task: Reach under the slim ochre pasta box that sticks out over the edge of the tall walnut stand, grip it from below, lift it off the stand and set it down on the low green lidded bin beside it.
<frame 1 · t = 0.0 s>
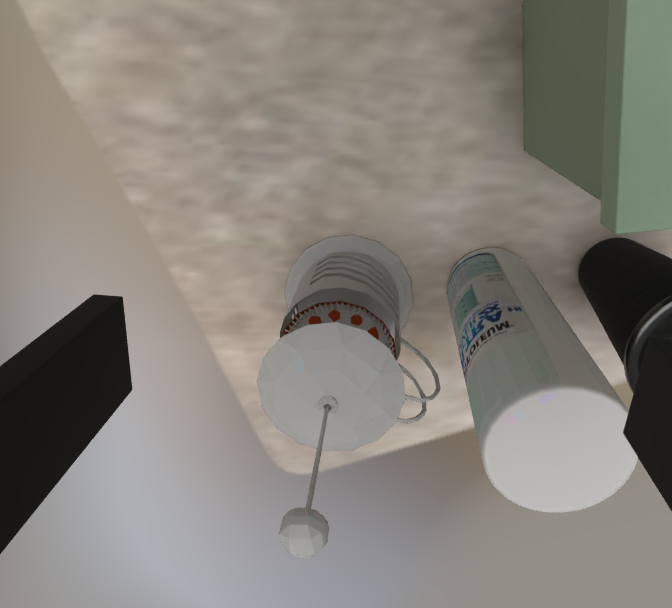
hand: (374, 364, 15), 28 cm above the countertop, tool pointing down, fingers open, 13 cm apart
drinking cup: (611, 268, 42), on the countertop
green lidded bin: (612, 68, 37), on the countertop
spray can: (488, 286, 43), on the countertop
french press: (358, 301, 45), on the countertop
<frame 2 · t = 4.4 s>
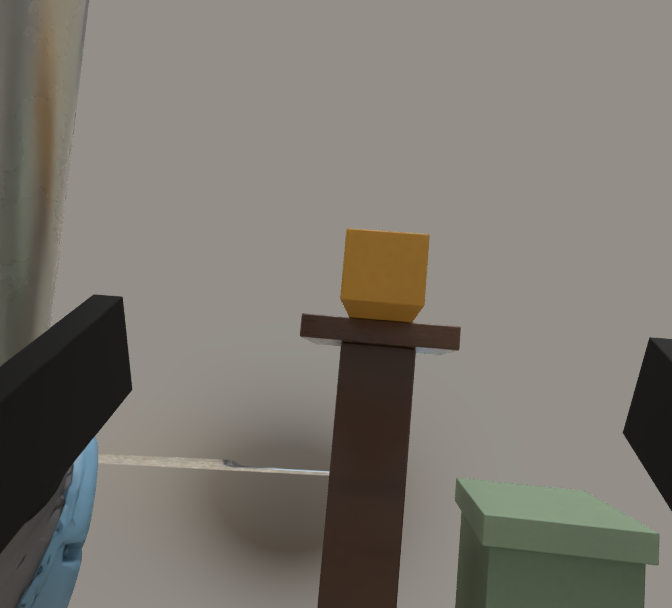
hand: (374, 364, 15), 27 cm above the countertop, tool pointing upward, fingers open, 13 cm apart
pasta box: (380, 322, 38), point 30 cm above the countertop, touching walnut stand
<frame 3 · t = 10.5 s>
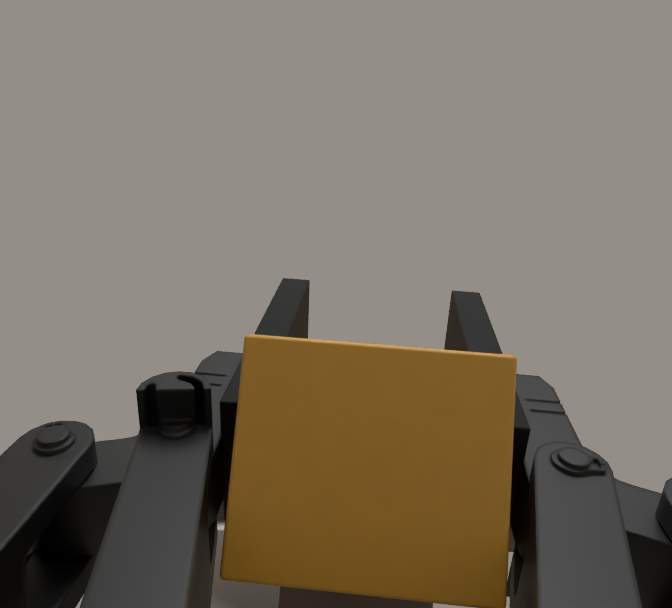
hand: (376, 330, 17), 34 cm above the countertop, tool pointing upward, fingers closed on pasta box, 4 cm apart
pasta box: (365, 473, 19), point 30 cm above the countertop, touching gripper, walnut stand
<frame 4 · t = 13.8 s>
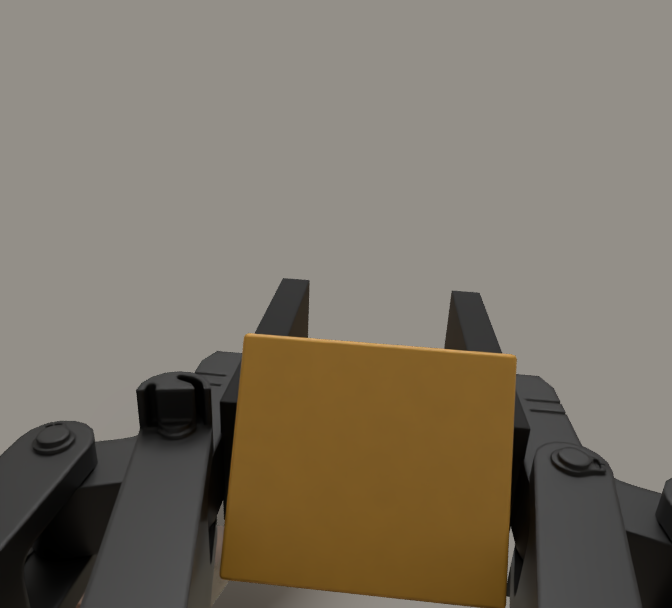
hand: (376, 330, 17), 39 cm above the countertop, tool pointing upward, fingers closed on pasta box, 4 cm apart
pasta box: (364, 472, 19), point 34 cm above the countertop, touching gripper
when the fingers open (23 cm above the countertop, at t = 17.6 s): pasta box stays where it is, resting on green lidded bin.
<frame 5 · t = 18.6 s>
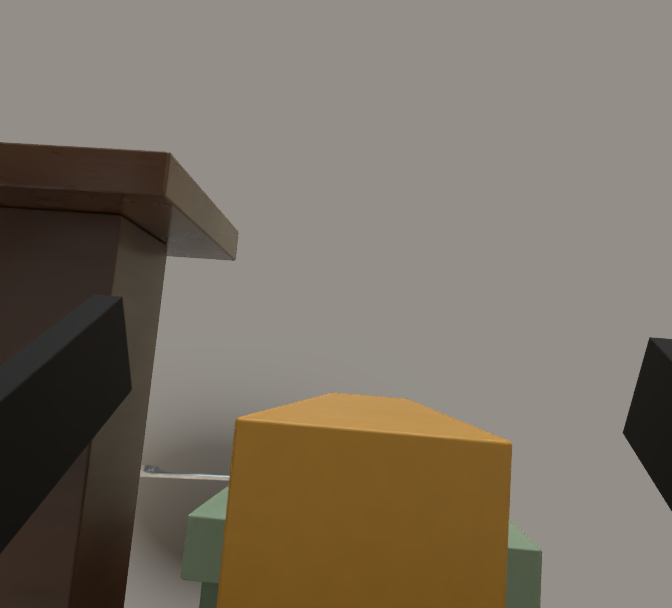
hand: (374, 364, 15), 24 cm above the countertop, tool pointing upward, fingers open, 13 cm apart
pasta box: (362, 512, 19), point 19 cm above the countertop, touching green lidded bin
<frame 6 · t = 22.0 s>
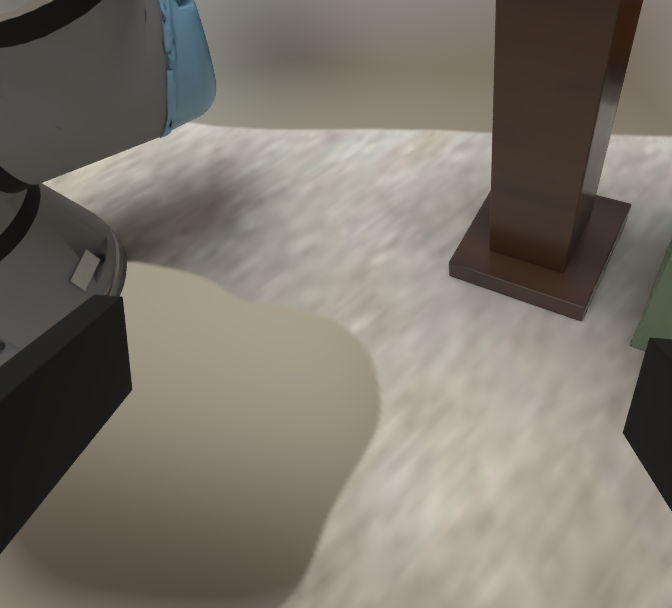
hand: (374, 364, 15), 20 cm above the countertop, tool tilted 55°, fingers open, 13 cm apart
walnut stand: (537, 247, 40), on the countertop
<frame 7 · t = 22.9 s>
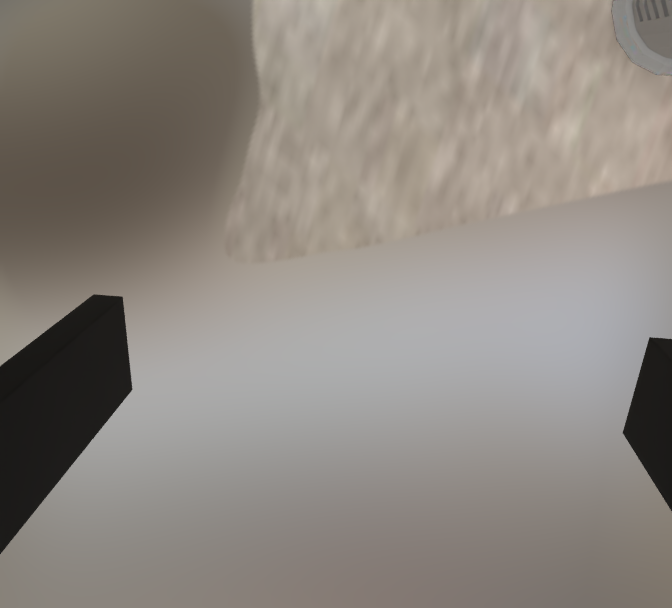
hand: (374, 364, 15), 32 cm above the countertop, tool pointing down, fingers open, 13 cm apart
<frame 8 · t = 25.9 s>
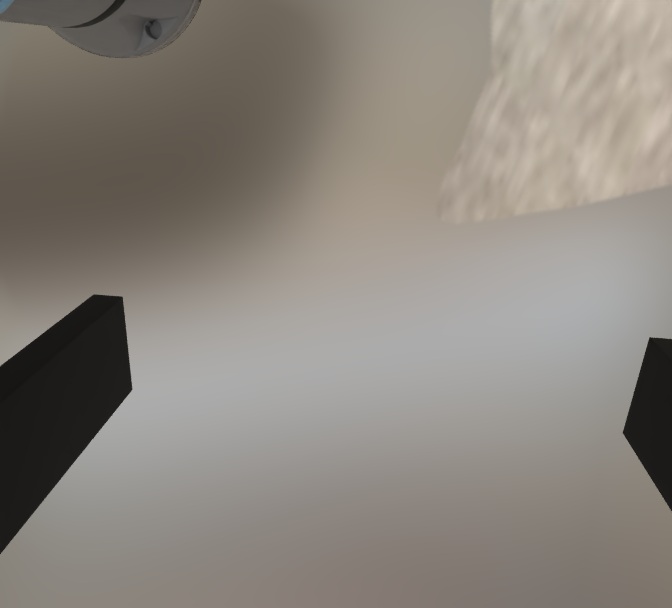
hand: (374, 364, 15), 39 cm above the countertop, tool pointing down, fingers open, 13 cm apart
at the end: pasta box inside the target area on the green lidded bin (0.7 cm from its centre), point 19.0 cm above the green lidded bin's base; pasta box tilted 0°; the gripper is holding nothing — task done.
